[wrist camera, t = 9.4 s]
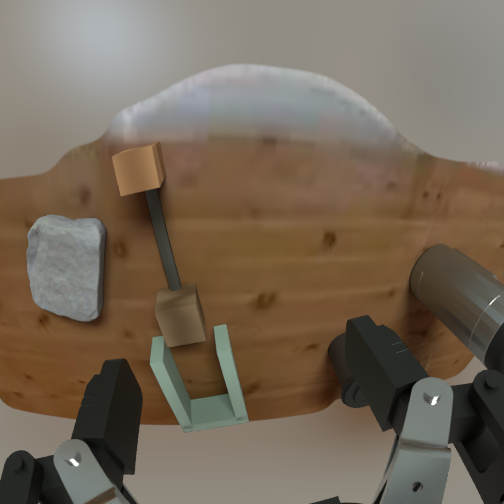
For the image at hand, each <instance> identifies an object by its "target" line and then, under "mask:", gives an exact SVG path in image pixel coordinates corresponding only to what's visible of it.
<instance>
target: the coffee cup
mask: <svg viewBox="0 0 504 504" xmlns="http://www.w3.org/2000/svg"><path fill="white" fill-rule="evenodd" d="M345 342H346V333H343V334H341V335H339V336H338V337H336V338H335V339H334V340H333V341H332V342H331V344H330V346H329V348H328V353H329V356H330V359H331V361H332V364H333V367H334V370H335V372H336V375H337V378H338V381H339V384H340V386H341V389H342V396H341V399H342V401H343V403H344V404H346V405H347V406H349V407H353V408H360V407H364V406H368V405H369V404H368V402H367V400H366V399H365V397H364V395H363V393H362V391H361V389H360V387H359V385H358V384H357V382H356V380H355V378H354V376H353V374H352V372H351V371H350V369H349V367H348V365H347V362H346V357H345Z"/></svg>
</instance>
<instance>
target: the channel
mask: <svg viewBox="0 0 504 504" xmlns="http://www.w3.org/2000/svg"><path fill="white" fill-rule="evenodd" d="M214 334H215V342H216V349H217V355H218V358H219V362H220V365H221V369H222V372H223V376H224V379H225V383H226V386H227V389H228V394H223V395H217V396H212V397H206V398H200V399H193V400H190V398H189V395H188V393H187V391H186V388H185V386H184V383H183V381H182V379H181V376H180V374H179V371H178V369H177V366H176V364H175V361H174V359H173V356H172V354H171V351H170V348H169V347H167V345H166V342H165V340H164V337H163V336H158V337H153V340H152V348H151V357H150V365H151V367H152V370H153V372H154V374H155V376H156V378H157V380H158V382H159V384H160V387H161V389H162V391H163V393H164V395H165V397H166V399H167V401H168V403H169V405H170V407H171V408H172V410H173V412H174V414H175V416H176V418H177V420H178V422H179V424H180V425H181V427H182V429H183V431H184V432H192V431H199V430H205V429H212V428H219V427H224V426H230V425H236V424H241V423H246V422H249V419H248V415H247V410H246V406H245V401H244V397H243V393H242V389H241V385H240V381H239V377H238V372H237V368H236V364H235V360H234V356H233V352H232V347H231V343H230V339H229V335H228V330H227V326H226V324H224V325H219V326H214Z"/></svg>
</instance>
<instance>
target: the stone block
mask: <svg viewBox="0 0 504 504" xmlns="http://www.w3.org/2000/svg"><path fill="white" fill-rule="evenodd" d="M105 240H106V228H105V226H104V225H103V223H102V222H101V221H100V220H98V219H97V218H85V219H76V220H72V219H68V218H65V217H63V216H58V215H54V214H50V215H47V216H44V217H41V218H39V219H38V220H37V221H36V222H35V224H34V225H33V226H32V227H31V230H30V231H29V233H28V241H29V247H28V249H27V262H28V269H27V270H28V276H29V279H30V287H31V291H32V296H33V299H34V301H35V303H36V304H37V305H38V306H40V307H41V308H42V309H45V310H48V311H50V312H53V313H55V314H58V315H62V316H67V317H69V318H71V319H75V320H78V321H87V322H89V321H91V320H93V319H95V318H97V317H99V315H100V313H101V309H102V308H103V277H104V252H105Z"/></svg>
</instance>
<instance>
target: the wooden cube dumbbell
mask: <svg viewBox="0 0 504 504" xmlns="http://www.w3.org/2000/svg"><path fill="white" fill-rule="evenodd" d="M112 159H113V164H114V168H115V173H116V177H117V182H118V186H119V190H120V194H121V196H124V195H128V194H133V193H137V192H141V191H145V194H146V198H147V203H148V207H149V211H150V215H151V219H152V223H153V227H154V231H155V235H156V239H157V243H158V247H159V250H160V254H161V258H162V261H163V265H164V269H165V272H166V276H167V279H168V283H169V286H170V288H167V289H162V290H158V292H157V299H156V305H155V315H156V318H157V321H158V323H159V326H160V329H161V332H162V334H163V337H164V340H165V342H166V345H167V347H174V346H180V345H186V344H191V343H197V342H202V341H206V333H205V322H204V315H203V312H202V308H201V304H200V300H199V296H198V292H197V288H196V284H195V283H193V284H188V285H183V286H181V283H180V279H179V275H178V272H177V268H176V264H175V260H174V256H173V253H172V249H171V245H170V241H169V237H168V232H167V228H166V224H165V220H164V216H163V211H162V207H161V202H160V198H159V193H158V189H157V188H159V187H160V186H161V184H162V182H163V180H164V178H165V176H166V173H165V168H164V163H163V157H162V152H161V147H160V142H156V143H152V144H148V145H144V146H139V147H135V148H131V149H127V150H125V151H123V152H121V153H119V154H117V155H115V156H113V157H112Z"/></svg>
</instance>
